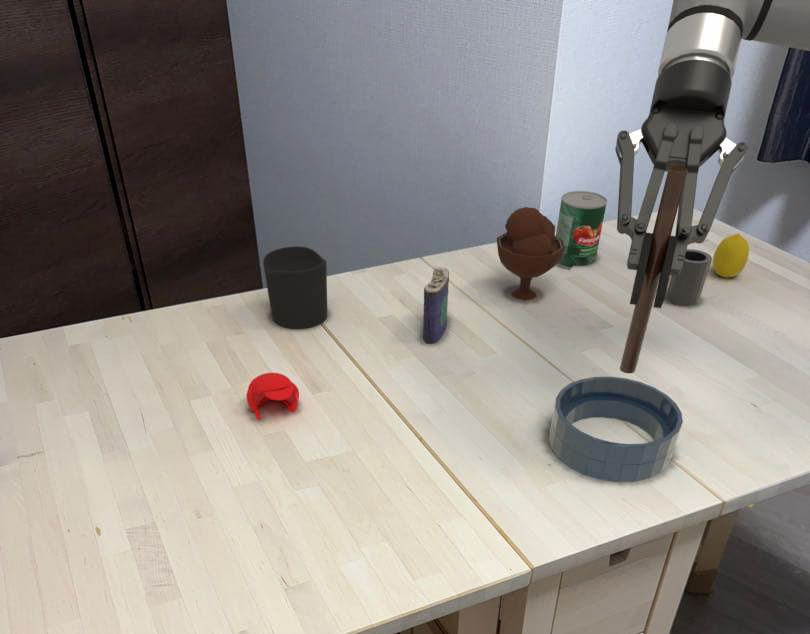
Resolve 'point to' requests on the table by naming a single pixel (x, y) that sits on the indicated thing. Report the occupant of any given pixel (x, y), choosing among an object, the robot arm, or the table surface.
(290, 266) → the pen holder
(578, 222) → the canned tomato
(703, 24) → the robot arm
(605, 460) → the grey-blue hollow ring
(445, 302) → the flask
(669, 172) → the stick
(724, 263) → the lemon
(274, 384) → the cap
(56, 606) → the table surface
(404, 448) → the table surface
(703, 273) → the utensil pot
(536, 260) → the ice cream bowl
